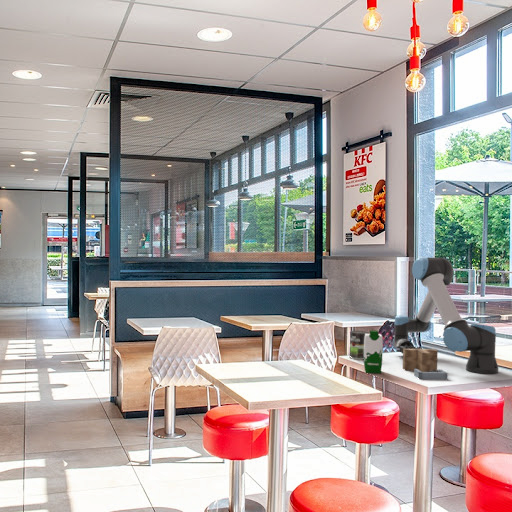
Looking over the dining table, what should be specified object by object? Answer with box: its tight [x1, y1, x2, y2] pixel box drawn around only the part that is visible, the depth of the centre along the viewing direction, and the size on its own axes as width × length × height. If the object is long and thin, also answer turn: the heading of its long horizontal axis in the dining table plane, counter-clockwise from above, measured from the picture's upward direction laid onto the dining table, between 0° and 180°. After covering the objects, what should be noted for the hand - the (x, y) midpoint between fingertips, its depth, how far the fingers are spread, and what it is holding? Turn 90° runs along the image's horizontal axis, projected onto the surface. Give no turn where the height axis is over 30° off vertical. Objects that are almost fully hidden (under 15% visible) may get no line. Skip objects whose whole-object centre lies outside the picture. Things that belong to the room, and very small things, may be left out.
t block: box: [402, 348, 439, 372], centre depth 301 cm, size 16×12×10 cm
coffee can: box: [349, 330, 370, 360], centre depth 335 cm, size 10×10×14 cm
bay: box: [413, 368, 448, 380], centre depth 286 cm, size 13×9×3 cm
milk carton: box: [363, 330, 384, 374], centre depth 296 cm, size 9×9×20 cm
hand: (416, 354), depth 309 cm, fingers closed
